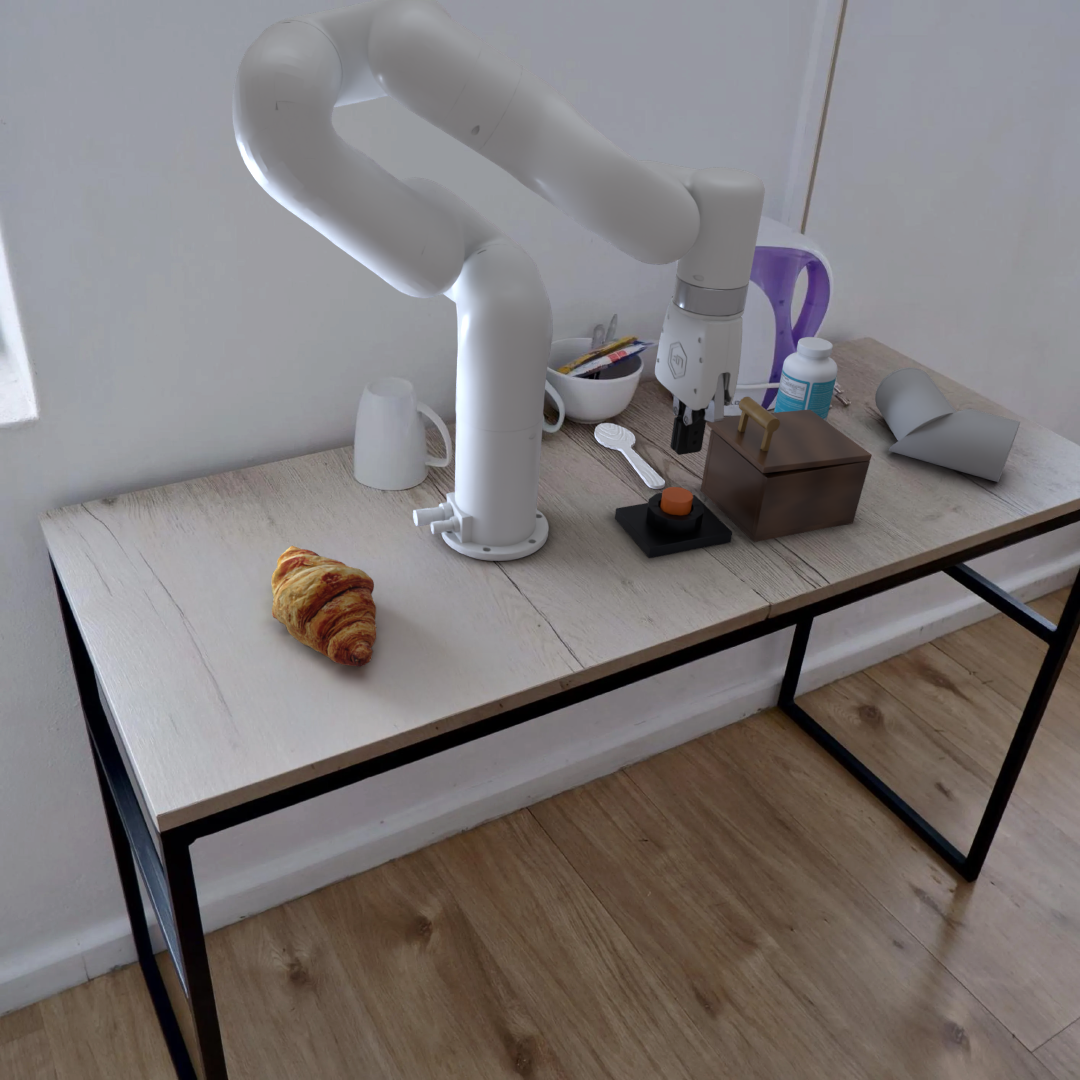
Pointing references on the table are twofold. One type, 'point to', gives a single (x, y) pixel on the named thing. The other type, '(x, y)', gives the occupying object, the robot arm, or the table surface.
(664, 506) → the button
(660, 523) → the switch block
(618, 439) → the spoon
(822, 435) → the lid
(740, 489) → the tea box
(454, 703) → the table surface
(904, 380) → the elbow connector
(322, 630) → the croissant
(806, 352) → the pill bottle
